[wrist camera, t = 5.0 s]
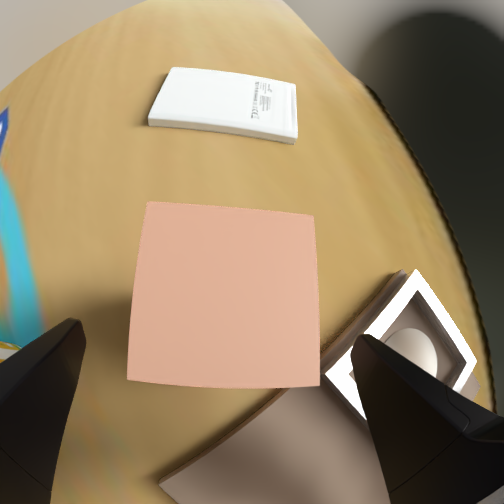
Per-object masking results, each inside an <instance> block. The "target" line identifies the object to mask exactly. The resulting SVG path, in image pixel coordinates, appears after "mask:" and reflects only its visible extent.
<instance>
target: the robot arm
mask: <svg viewBox="0 0 504 504" xmlns="http://www.w3.org/2000/svg"><path fill="white" fill-rule="evenodd" d="M85 348H86V338H85V334H84V330H83V326H82V323H81V321H80V320H79V319H74V318H68V319H66V320H64V321H63V322H61V323H60V324H58V325H57V326H55V327H54V328H52V329H50V330H49V331H47V332H46V333H44V334H43V335H41V336H40V337H38V338H37V339H35V340H34V341H32V342H31V343H29V344H28V345H26V346H25V347H23V348H22V349H20V350H19V351H17V352H16V353H14V354H13V355H11V356H10V357H8V358H7V359H5V360H4V361H2V362H1V363H0V504H50V499H51V491H52V486H53V480H54V474H55V469H56V464H57V459H58V454H59V450H60V446H61V441H62V437H63V433H64V429H65V426H66V422H67V418H68V414H69V411H70V407H71V404H72V401H73V397H74V394H75V391H76V387H77V384H78V379H79V374H80V370H81V365H82V360H83V356H84V352H85ZM350 360H351V364H352V369H353V373H354V378H355V382H356V387H357V391H358V395H359V399H360V402H361V405H362V408H363V411H364V414H365V417H366V420H367V423H368V426H369V430H370V433H371V436H372V439H373V443H374V446H375V449H376V453H377V456H378V459H379V463H380V466H381V470H382V473H383V477H384V480H385V484H386V488H387V491H388V496H389V500H390V503H391V504H504V417H501V416H499V415H496V414H494V413H493V412H491V411H489V410H487V409H485V408H484V407H482V406H480V405H478V404H476V403H474V402H473V401H471V400H469V399H468V398H466V397H464V396H462V395H461V394H459V393H458V392H456V391H455V390H453V389H452V388H450V387H449V386H447V385H444V383H443V382H441V381H440V380H438V379H437V378H435V377H434V376H432V375H431V374H429V373H428V372H426V371H425V370H423V369H422V368H420V367H419V366H417V365H416V364H414V363H413V362H411V361H410V360H408V359H407V358H405V357H404V356H402V355H401V354H400V353H398V352H397V351H395V350H394V349H392V348H391V347H389V346H388V345H386V344H385V343H383V342H382V341H380V340H379V339H377V338H376V337H374V336H373V335H371V334H368V333H367V334H359V335H358V336H357V338H356V340H355V342H354V345H353V347H352V349H351V352H350Z"/></svg>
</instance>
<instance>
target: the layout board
mask: <svg viewBox="0 0 504 504" xmlns="http://www.w3.org/2000/svg"><path fill="white" fill-rule="evenodd" d="M367 333H368V334H371V335H373V336H374V337H376V338H377V339H379V340H380V341H382V342H383V343H385V344H386V345H388V346H389V347H391V348H392V349H394V350H395V351H397V352H398V353H400V354H401V355H402V356H404V357H405V358H407V359H408V360H410V361H411V362H413V363H414V364H416V365H417V366H419V367H420V368H422V369H423V370H425V371H426V372H428V373H429V374H431V375H432V376H434V377H435V378H437V379H438V380H440V381H441V382H443V383H444V385H447V386H449V387H450V388H452V389H453V390H455V391H456V392H458V393H459V394H461V395H462V396H464V397H466V398H468V399H469V400H471V401H473V400H474V398H475V396H476V394H477V392H478V390H479V388H480V385H479V383H478V381H477V379H476V377H475V376H474V374H473V372H472V369H473V368H474V366H475V364H476V362H477V361H476V359H475V357H474V355H473V354H472V352H471V350H470V349H469V347H468V345H467V344H466V342H465V340H464V339H463V337H462V335H461V334H460V332H459V331H458V329H457V327H456V326H455V324H454V323H453V321H452V320H451V318H450V317H449V315H448V313H447V312H446V310H445V309H444V308H443V306H442V305H441V303H440V302H439V300H438V299H437V297H436V296H435V294H434V293H433V292H432V290H431V289H430V287H429V286H428V285H427V283H426V282H425V280H424V279H423V278H422V276H421V275H420V274H419V272H418V271H417V270H416V269H415V270H413V271H411V272H410V273H408V274H406V273H405V271H404V270H403V269H402V270H400V271H398V272H396V273H395V274H394V275H393V276H392V277H391V279H390V280H389V281H388V282H387V283H386V285H385V286H384V287H383V288H382V289H381V290H380V292H379V293H378V294H377V295H376V296H375V297H374V299H373V300H372V301H371V302H370V303H369V304H368V305H367V306H366V308H365V309H364V310H363V311H362V312H361V313H360V314H359V315H358V316H357V317H356V319H355V320H354V321H353V322H352V323H351V324H350V325H349V326H348V327H347V328H346V329H345V330H344V331H343V332H342V333H341V334H340V335H339V336H338V337H337V338H336V339H335V341H334V342H333V343H332V344H331V345H330V346H329V347H328V348H327V349H326V350H325V351H323V352H322V353H321V354H320V386H309V387H292V388H284V389H282V390H281V391H280V392H279V393H278V394H277V395H276V396H274V397H273V398H272V399H271V400H270V401H268V402H267V403H266V404H265V405H264V406H262V407H261V408H260V409H259V410H258V411H256V412H255V413H254V414H253V415H251V416H250V417H249V418H248V419H246V420H245V421H244V422H243V423H241V424H240V425H239V426H237V427H236V428H235V429H233V430H232V431H231V432H229V433H228V434H227V435H225V436H224V437H223V438H221V439H220V440H219V441H217V442H216V443H214V444H213V445H212V446H210V447H209V448H207V449H206V450H204V451H203V452H202V453H200V454H199V455H197V456H196V457H194V458H193V459H191V460H190V461H188V462H187V463H185V464H184V465H182V466H180V467H179V468H177V469H176V470H174V471H172V472H171V473H169V474H168V475H166V476H164V477H163V478H161V479H160V481H159V484H158V485H159V486H160V487H161V488H162V489H163V490H164V491H165V492H166V493H167V494H168V495H169V496H171V497H172V498H173V499H174V500H175V501H176V502H177V503H178V504H391V503H390V500H389V496H388V491H387V488H386V484H385V480H384V477H383V473H382V470H381V466H380V463H379V459H378V456H377V453H376V449H375V446H374V443H373V439H372V436H371V433H370V430H369V426H368V423H367V420H366V417H365V414H364V411H363V408H362V405H361V402H360V399H359V395H358V391H357V387H356V382H355V378H354V373H353V369H352V364H351V360H350V352H351V349H352V347H353V345H354V342H355V340H356V338H357V336H358V335H359V334H367Z"/></svg>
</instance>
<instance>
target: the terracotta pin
mask: <svg viewBox="0 0 504 504" xmlns="http://www.w3.org/2000/svg"><path fill="white" fill-rule="evenodd" d="M127 380H134V381H141V382H149V383H158V384H167V385H179V386H192V387H209V388H292V387H309V386H320V328H319V296H318V274H317V257H316V242H315V229H314V216H313V215H305V214H296V213H287V212H278V211H268V210H257V209H246V208H235V207H223V206H211V205H197V204H183V203H167V202H149V201H147V206H146V212H145V217H144V222H143V228H142V233H141V239H140V245H139V252H138V258H137V265H136V273H135V281H134V289H133V298H132V307H131V318H130V330H129V345H128V365H127Z"/></svg>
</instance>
